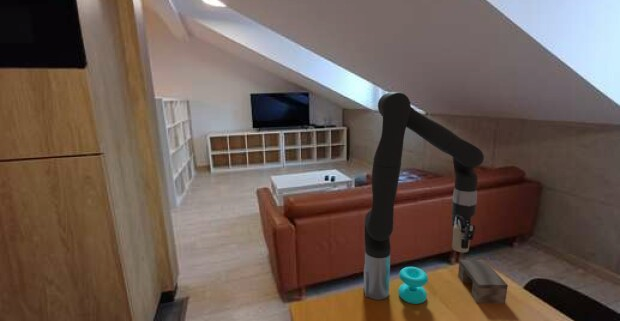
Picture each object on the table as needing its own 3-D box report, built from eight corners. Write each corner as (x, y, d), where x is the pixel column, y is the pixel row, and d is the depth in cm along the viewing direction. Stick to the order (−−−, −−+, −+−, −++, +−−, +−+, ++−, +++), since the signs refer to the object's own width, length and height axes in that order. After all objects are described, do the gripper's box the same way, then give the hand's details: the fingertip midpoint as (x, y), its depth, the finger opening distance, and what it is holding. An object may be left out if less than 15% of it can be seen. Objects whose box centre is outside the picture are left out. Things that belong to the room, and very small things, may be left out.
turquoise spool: (395, 266, 115) (419, 263, 117) (394, 289, 118) (418, 286, 119) (407, 282, 106) (433, 279, 107) (405, 307, 108) (431, 303, 109)
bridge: (476, 302, 109) (478, 284, 107) (458, 276, 125) (459, 259, 123) (505, 303, 109) (507, 285, 107) (483, 276, 124) (484, 260, 122)
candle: (465, 245, 114) (467, 220, 112) (471, 252, 109) (473, 227, 106) (450, 244, 115) (451, 220, 112) (455, 252, 109) (457, 227, 107)
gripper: (445, 194, 114) (443, 234, 118) (462, 208, 101) (458, 254, 104) (466, 193, 114) (463, 234, 118) (485, 208, 100) (480, 254, 104)
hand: (460, 243), depth 111 cm, fingers closed on candle, 5 cm apart
